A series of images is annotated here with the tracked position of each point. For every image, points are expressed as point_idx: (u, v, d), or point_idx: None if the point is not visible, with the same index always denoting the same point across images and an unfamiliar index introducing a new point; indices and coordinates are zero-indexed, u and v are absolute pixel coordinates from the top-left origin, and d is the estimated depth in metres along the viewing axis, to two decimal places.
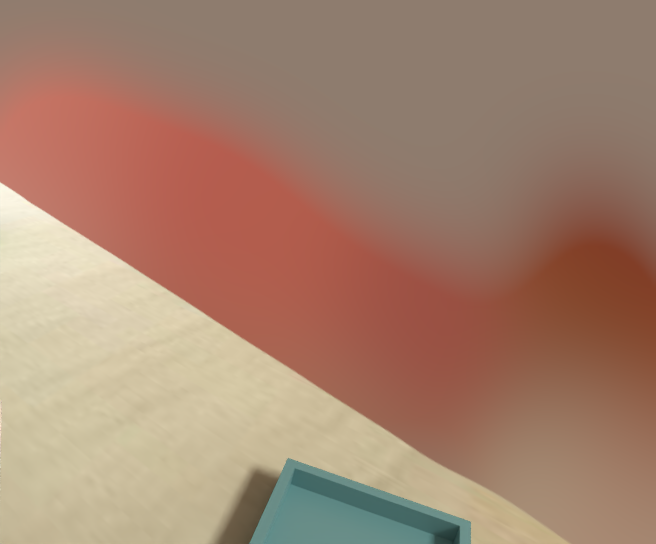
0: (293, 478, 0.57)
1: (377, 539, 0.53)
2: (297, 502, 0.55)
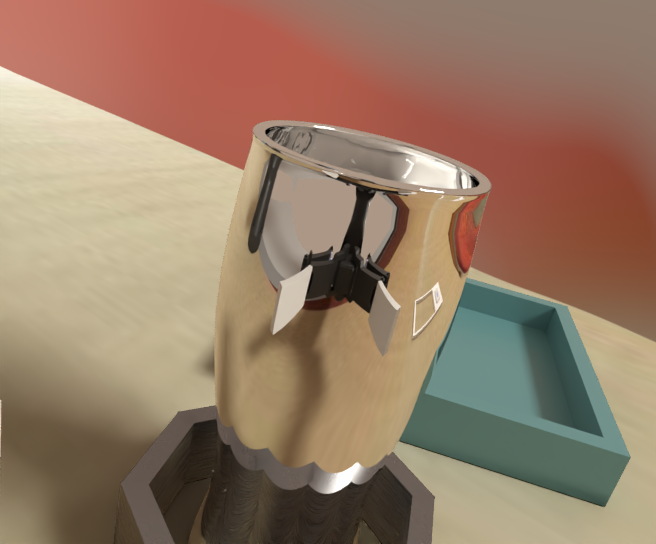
0: None
1: None
2: None
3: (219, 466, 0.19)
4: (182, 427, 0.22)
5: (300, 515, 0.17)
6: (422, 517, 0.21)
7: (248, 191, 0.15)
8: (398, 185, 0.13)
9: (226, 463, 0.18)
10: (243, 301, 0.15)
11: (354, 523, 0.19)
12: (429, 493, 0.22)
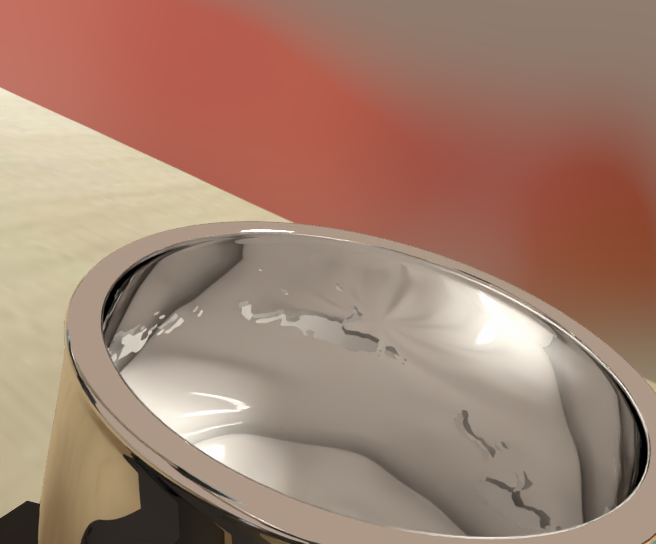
0: None
1: None
2: None
3: None
4: None
5: None
6: None
7: (52, 458, 0.06)
8: None
9: None
10: None
11: None
12: None
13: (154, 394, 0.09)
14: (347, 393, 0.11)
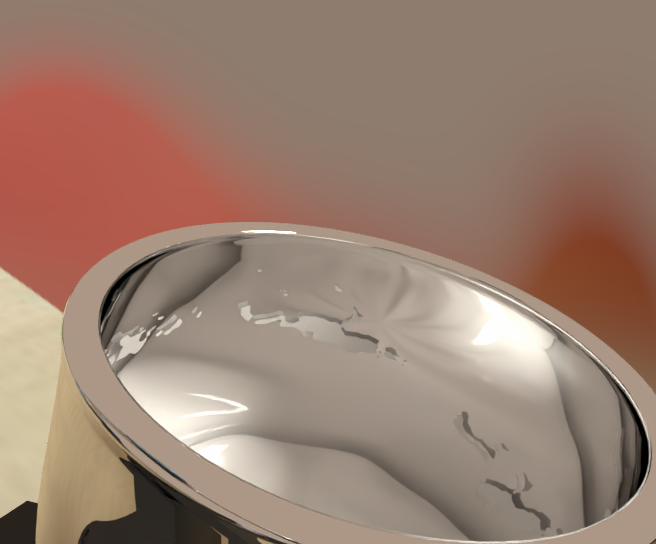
0: None
1: None
2: None
3: None
4: None
5: None
6: None
7: (49, 461, 0.06)
8: None
9: None
10: None
11: None
12: None
13: (153, 395, 0.09)
14: (347, 395, 0.11)
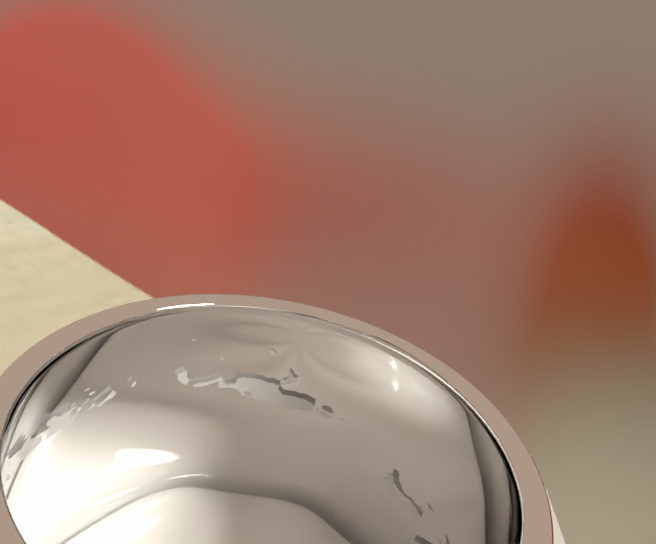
0: None
1: None
2: None
3: None
4: None
5: None
6: None
7: None
8: None
9: None
10: None
11: None
12: None
13: (91, 459, 0.10)
14: (287, 449, 0.11)
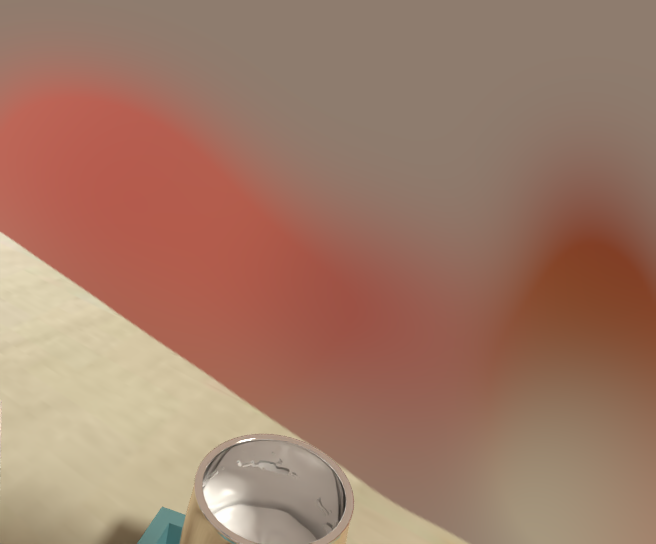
0: (168, 538, 0.38)
1: None
2: None
3: None
4: None
5: None
6: None
7: (190, 526, 0.23)
8: None
9: None
10: None
11: None
12: None
13: (207, 495, 0.27)
14: (278, 488, 0.28)
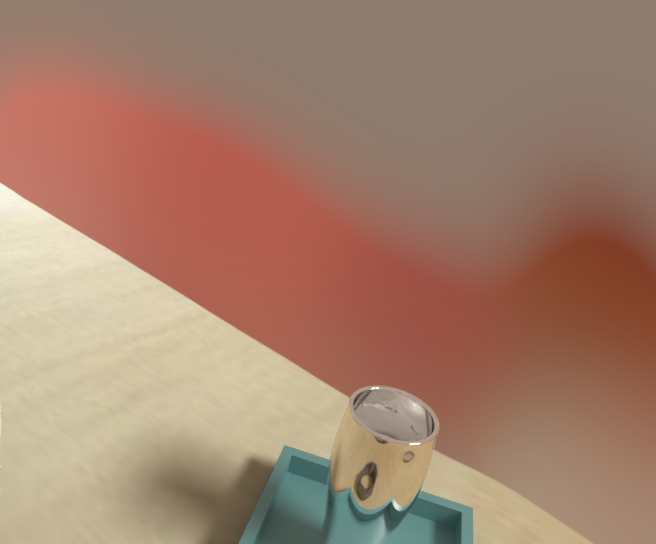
0: (290, 465, 0.55)
1: None
2: (294, 490, 0.54)
3: (327, 530, 0.44)
4: None
5: None
6: None
7: (348, 433, 0.41)
8: (404, 443, 0.39)
9: (332, 529, 0.44)
10: (346, 474, 0.41)
11: None
12: None
13: None
14: (384, 421, 0.46)
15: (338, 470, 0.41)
